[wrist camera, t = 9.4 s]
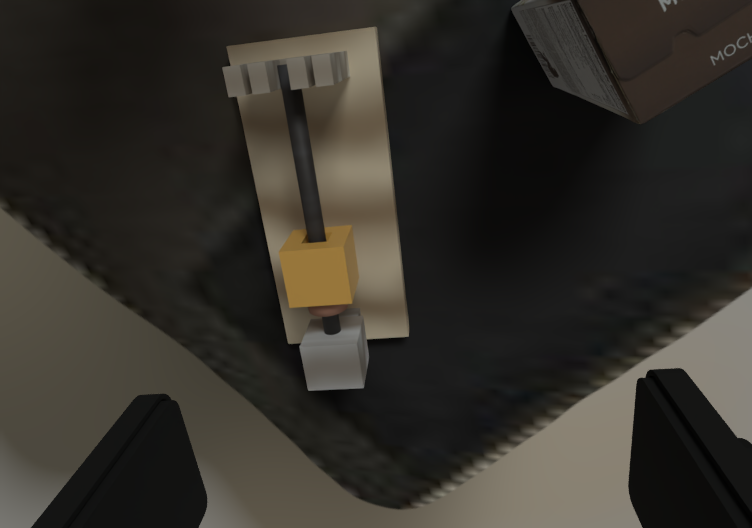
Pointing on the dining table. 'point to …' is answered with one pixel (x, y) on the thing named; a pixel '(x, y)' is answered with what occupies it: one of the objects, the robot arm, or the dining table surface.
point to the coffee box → (636, 48)
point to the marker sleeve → (320, 268)
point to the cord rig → (325, 184)
